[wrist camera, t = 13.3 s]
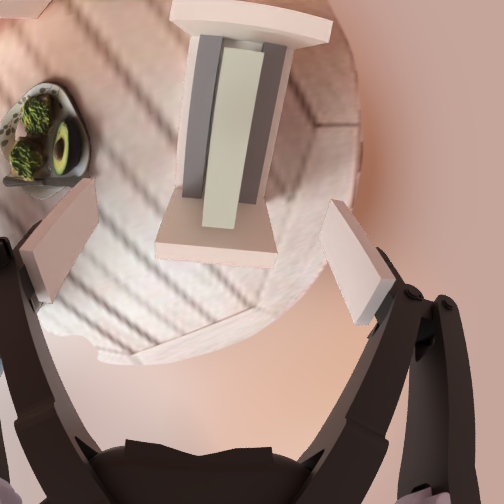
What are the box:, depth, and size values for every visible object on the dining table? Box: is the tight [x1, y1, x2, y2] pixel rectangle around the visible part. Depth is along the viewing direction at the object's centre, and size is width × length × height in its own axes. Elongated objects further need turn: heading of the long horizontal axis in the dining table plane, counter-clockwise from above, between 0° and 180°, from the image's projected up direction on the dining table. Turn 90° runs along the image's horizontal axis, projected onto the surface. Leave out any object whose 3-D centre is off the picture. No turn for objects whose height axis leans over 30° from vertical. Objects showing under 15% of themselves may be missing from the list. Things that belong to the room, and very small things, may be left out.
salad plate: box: [0, 82, 91, 200], centre depth 30 cm, size 19×18×5 cm
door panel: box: [202, 47, 264, 229], centre depth 27 cm, size 16×3×12 cm, turn 170°
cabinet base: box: [155, 0, 333, 269], centre depth 27 cm, size 24×12×14 cm, turn 170°
